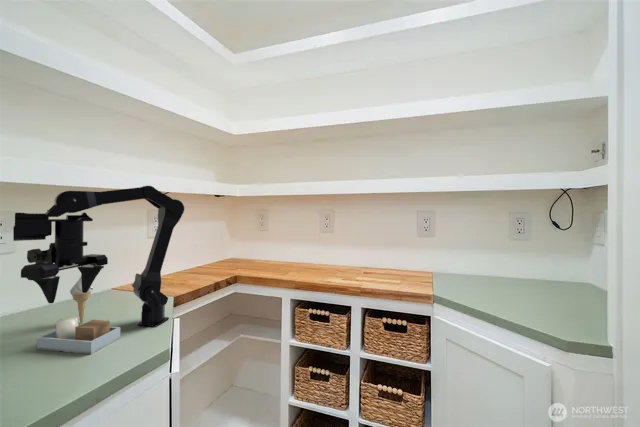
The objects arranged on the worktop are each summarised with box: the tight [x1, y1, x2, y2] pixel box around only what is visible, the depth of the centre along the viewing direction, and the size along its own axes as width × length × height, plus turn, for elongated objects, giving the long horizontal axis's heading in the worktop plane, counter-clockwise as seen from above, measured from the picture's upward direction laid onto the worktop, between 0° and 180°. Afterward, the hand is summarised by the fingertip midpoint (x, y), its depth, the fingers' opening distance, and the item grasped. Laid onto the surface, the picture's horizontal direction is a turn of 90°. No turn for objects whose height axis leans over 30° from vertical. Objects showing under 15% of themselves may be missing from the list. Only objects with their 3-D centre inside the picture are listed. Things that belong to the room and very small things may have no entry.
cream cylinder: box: [55, 316, 79, 340], centre depth 77 cm, size 4×4×6 cm
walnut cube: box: [75, 319, 111, 341], centre depth 76 cm, size 5×5×5 cm
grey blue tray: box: [36, 323, 121, 355], centre depth 77 cm, size 9×15×3 cm, turn 84°
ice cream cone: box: [69, 276, 94, 324], centre depth 90 cm, size 6×6×15 cm
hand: (68, 297), depth 77 cm, fingers open, 9 cm apart
